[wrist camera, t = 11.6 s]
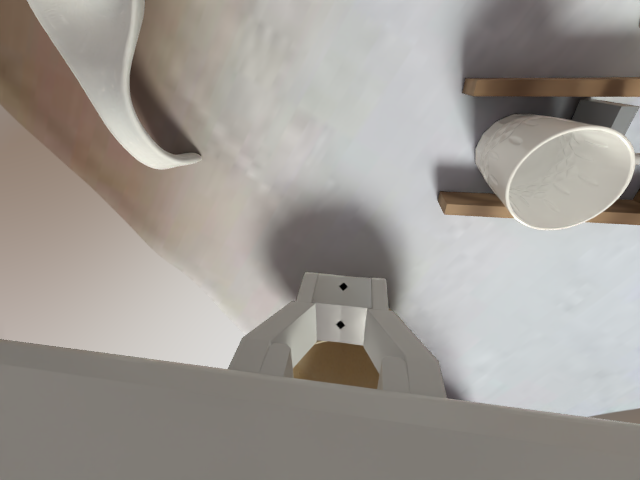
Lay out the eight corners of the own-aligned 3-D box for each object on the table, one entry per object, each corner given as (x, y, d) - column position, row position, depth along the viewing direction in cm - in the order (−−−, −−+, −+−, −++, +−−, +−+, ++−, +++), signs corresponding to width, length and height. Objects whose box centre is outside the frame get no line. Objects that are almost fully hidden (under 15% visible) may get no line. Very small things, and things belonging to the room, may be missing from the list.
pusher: (540, 192, 30) (568, 213, 26) (580, 99, 26) (621, 106, 21) (596, 195, 30) (634, 216, 25) (648, 99, 25) (705, 106, 21)
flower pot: (280, 311, 47) (255, 380, 37) (355, 246, 38) (350, 313, 28) (360, 365, 51) (357, 440, 41) (444, 317, 42) (468, 398, 32)
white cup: (477, 196, 32) (515, 243, 24) (459, 130, 29) (496, 157, 20) (560, 166, 29) (636, 208, 21) (550, 89, 26) (635, 102, 18)
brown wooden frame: (437, 201, 33) (450, 225, 28) (465, 78, 26) (487, 81, 21) (639, 210, 30) (692, 240, 25) (725, 76, 24) (821, 80, 19)
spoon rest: (15, -86, 25) (-96, -132, 19) (119, -145, 22) (27, -221, 16) (152, 170, 37) (109, 191, 31) (232, 153, 34) (203, 172, 28)
